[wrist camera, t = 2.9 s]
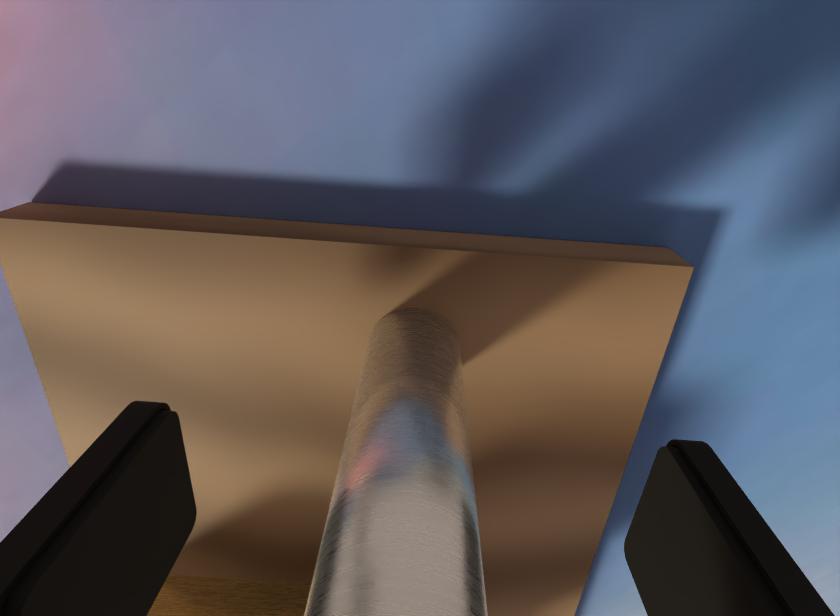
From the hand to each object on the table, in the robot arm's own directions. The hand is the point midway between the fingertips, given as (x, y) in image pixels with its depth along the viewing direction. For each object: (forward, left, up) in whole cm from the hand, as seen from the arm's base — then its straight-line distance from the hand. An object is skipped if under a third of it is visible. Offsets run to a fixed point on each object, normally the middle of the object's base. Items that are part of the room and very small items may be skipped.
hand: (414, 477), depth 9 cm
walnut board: (+9, -2, -6) cm, 11 cm away
